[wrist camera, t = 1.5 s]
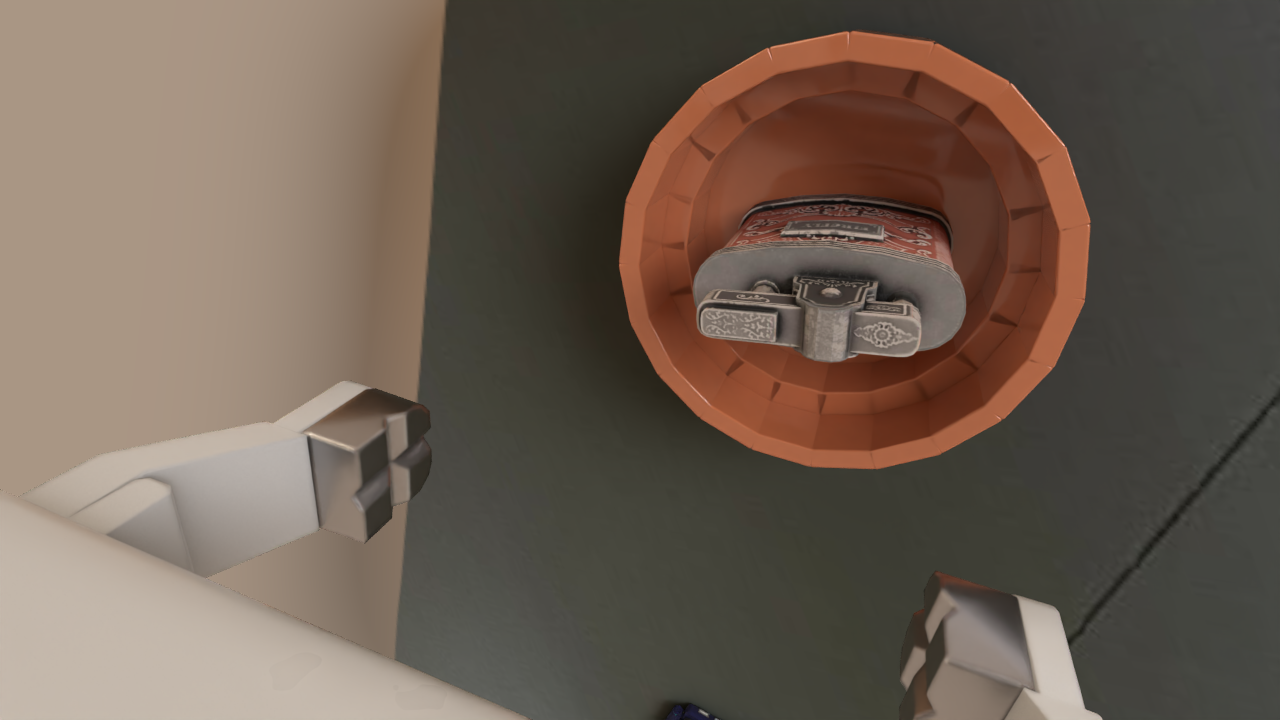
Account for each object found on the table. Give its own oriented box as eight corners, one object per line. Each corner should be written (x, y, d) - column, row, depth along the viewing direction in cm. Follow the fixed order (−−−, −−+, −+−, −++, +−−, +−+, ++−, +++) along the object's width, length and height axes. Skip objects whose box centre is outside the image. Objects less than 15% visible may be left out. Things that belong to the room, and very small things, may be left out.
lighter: (959, 196, 25) (984, 285, 16) (945, 284, 26) (961, 406, 18) (742, 190, 27) (667, 264, 19) (740, 270, 29) (670, 371, 20)
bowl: (1126, 64, 22) (1190, 76, 17) (970, 432, 29) (983, 519, 24) (697, 7, 26) (645, 2, 21) (650, 347, 33) (603, 406, 28)
